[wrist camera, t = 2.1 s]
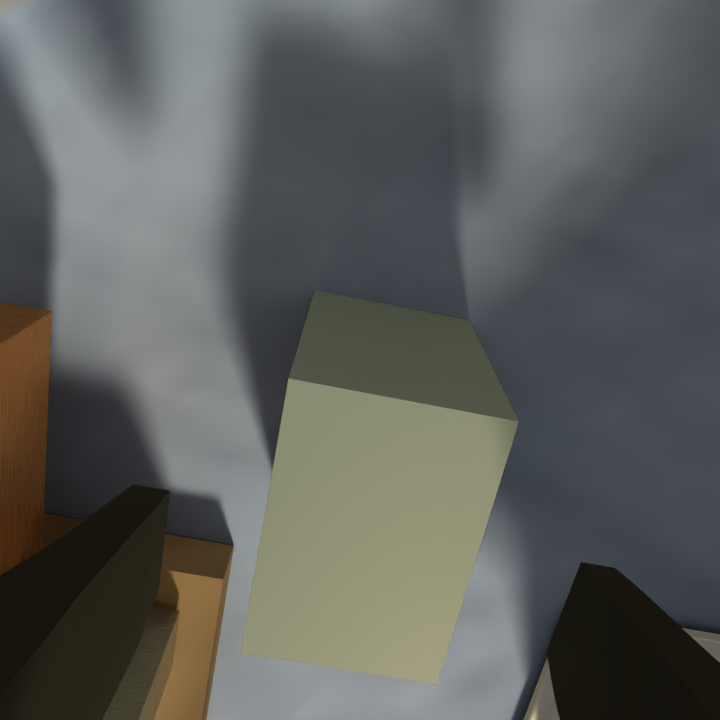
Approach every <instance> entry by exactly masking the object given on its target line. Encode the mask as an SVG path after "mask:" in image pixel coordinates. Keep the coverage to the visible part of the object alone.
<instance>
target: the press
mask: <svg viewBox="0 0 720 720" xmlns="http://www.w3.org/2000/svg"><path fill="white" fill-rule="evenodd" d="M82 521H84V520H81V519H75V518H69V517H64V516H58V515H52V514H46V513H44V527H43V548H44V547H46V546H47V545H49V544H50V543H52V542H53V541H55V540H56V539H58V538H59V537H60V536H62V535H63V534H65V533H66V532H68V531H69V530H71V529H72V528H74V527H75V526H77V525H78V524H79V523H81V522H82ZM233 547H234V546H233V545H227V544H221V543H215V542H209V541H204V540H198V539H192V538H186V537H180V536H174V535H169V534H165V538H164V547H163V556H162V565H161V574H160V583H159V590H158V592H157V595H156V598H155V601H154V604H153V606H156V607H162V608H168V609H174V610H180V612H179V620H178V628H177V636H176V643H175V651H174V659H173V666H172V669H171V672H170V675H169V678H168V681H167V684H166V686H165V689H164V692H163V695H162V698H161V701H160V703H159V706H158V709H157V712H156V715H155V718H154V720H206V718H207V712H208V706H209V699H210V693H211V687H212V680H213V674H214V668H215V661H216V655H217V649H218V642H219V636H220V630H221V623H222V617H223V611H224V604H225V598H226V592H227V585H228V579H229V573H230V566H231V560H232V554H233Z"/></svg>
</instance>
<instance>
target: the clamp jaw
mask: <svg viewBox="0 0 720 720" xmlns="http://www.w3.org/2000/svg"><path fill="white" fill-rule="evenodd" d="M51 316H52V312H50V311H44V310H39V309H34V308H29V307H23V306H18V305H13V304H8V303H2V302H0V575H1V574H3V573H4V572H6V571H8V570H9V569H11V568H13V567H14V566H16V565H18V564H19V563H21V562H22V561H24V560H26V559H27V558H29V557H31V556H32V555H34V554H35V553H37V552H38V551H40V550H41V549H43V527H44V501H45V474H46V448H47V422H48V395H49V369H50V342H51ZM179 612H180V610H174V609H168V608H162V607H156V606H153V607H152V610H151V613H150V615H149V618H148V621H147V624H146V627H145V629H144V632H143V635H142V638H141V640H140V643H139V645H138V647H137V650H136V652H135V654H134V656H133V658H132V660H131V662H130V664H129V666H128V668H127V670H126V672H125V674H124V676H123V678H122V680H121V682H120V685H119V687H118V689H117V691H116V693H115V695H114V697H113V699H112V701H111V703H110V705H109V707H108V709H107V711H106V713H105V715H104V717H103V719H102V720H154V718H155V715H156V712H157V709H158V706H159V703H160V701H161V698H162V695H163V692H164V689H165V686H166V684H167V681H168V678H169V675H170V672H171V669H172V666H173V659H174V651H175V643H176V636H177V628H178V620H179Z"/></svg>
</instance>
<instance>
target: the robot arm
mask: <svg viewBox="0 0 720 720" xmlns="http://www.w3.org/2000/svg"><path fill="white" fill-rule="evenodd" d="M169 494H170V491H168V490H162V489H156V488H150V487H144V486H139V485H132V486H131V487H129V488H128V489H126V490H125V491H123V492H122V493H121V494H119V495H118V496H116V497H115V498H114V499H112V500H111V501H110V502H108V503H107V504H106V505H104V506H103V507H101V508H100V509H99V510H97V511H96V512H95V513H93V514H92V515H90V516H89V517H88V518H86V519H85V520H84V521H82V522H81V523H79V524H78V525H77V526H75V527H74V528H72V529H71V530H69V531H68V532H66V533H65V534H63V535H62V536H60V537H59V538H58V539H56V540H55V541H53V542H52V543H50V544H49V545H47V546H46V547H44V548H43V549H41V550H40V551H38V552H37V553H35V554H34V555H32V556H31V557H29V558H27V559H26V560H24V561H22V562H21V563H19V564H18V565H16V566H14V567H13V568H11V569H9V570H8V571H6V572H4V573H3V574H1V575H0V720H102V719H103V717H104V715H105V713H106V711H107V709H108V707H109V705H110V703H111V701H112V699H113V697H114V695H115V693H116V691H117V689H118V687H119V685H120V682H121V680H122V678H123V676H124V674H125V672H126V670H127V668H128V666H129V664H130V662H131V660H132V658H133V656H134V654H135V652H136V650H137V647H138V645H139V643H140V640H141V638H142V635H143V632H144V629H145V627H146V624H147V621H148V618H149V615H150V613H151V610H152V607H153V604H154V601H155V598H156V595H157V592H158V590H159V583H160V574H161V565H162V556H163V547H164V538H165V530H166V521H167V512H168V503H169ZM523 720H720V634H715V633H709V632H703V631H697V630H691V629H685V628H681V627H680V626H679V625H678V624H677V623H676V622H675V621H674V620H673V619H672V618H671V617H669V616H668V615H667V614H666V613H665V612H664V611H663V610H662V609H661V608H660V607H659V606H658V605H657V604H655V603H654V602H653V601H652V600H651V599H650V598H649V597H648V596H647V595H646V594H645V593H643V592H642V591H641V590H640V589H639V588H638V587H637V586H636V585H635V584H633V583H632V582H631V581H630V580H629V579H628V578H626V577H625V576H624V575H623V574H621V573H620V572H619V571H618V570H616V569H615V568H611V567H606V566H600V565H594V564H588V563H582V562H581V564H580V566H579V569H578V572H577V574H576V577H575V579H574V582H573V585H572V587H571V590H570V593H569V595H568V598H567V600H566V603H565V606H564V608H563V611H562V613H561V616H560V619H559V621H558V624H557V627H556V629H555V632H554V634H553V637H552V640H551V642H550V645H549V647H548V650H547V659H546V662H545V664H544V667H543V670H542V672H541V675H540V678H539V680H538V683H537V685H536V688H535V691H534V693H533V696H532V698H531V701H530V704H529V706H528V709H527V712H526V714H525V717H524V719H523Z"/></svg>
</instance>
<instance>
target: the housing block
mask: <svg viewBox="0 0 720 720" xmlns="http://www.w3.org/2000/svg"><path fill="white" fill-rule="evenodd" d="M518 424H519V420H518V418H517V416H516V414H515V412H514V410H513V408H512V406H511V404H510V402H509V400H508V398H507V396H506V394H505V392H504V390H503V388H502V386H501V384H500V382H499V380H498V378H497V376H496V374H495V372H494V370H493V368H492V366H491V364H490V362H489V360H488V358H487V356H486V354H485V352H484V350H483V347H482V345H481V343H480V341H479V339H478V337H477V335H476V333H475V331H474V329H473V327H472V325H471V323H470V321H469V320H466V319H460V318H455V317H450V316H445V315H440V314H435V313H430V312H425V311H420V310H414V309H409V308H404V307H399V306H394V305H389V304H384V303H379V302H374V301H369V300H363V299H358V298H353V297H348V296H343V295H338V294H333V293H328V292H323V291H318V290H315V291H314V294H313V298H312V301H311V305H310V308H309V311H308V315H307V318H306V321H305V325H304V328H303V331H302V335H301V338H300V341H299V345H298V348H297V352H296V355H295V358H294V362H293V365H292V368H291V372H290V375H289V378H288V384H287V390H286V396H285V401H284V407H283V413H282V419H281V424H280V430H279V436H278V441H277V447H276V453H275V459H274V464H273V470H272V476H271V482H270V487H269V493H268V499H267V505H266V510H265V516H264V522H263V527H262V533H261V539H260V545H259V550H258V556H257V562H256V568H255V573H254V579H253V585H252V591H251V596H250V602H249V608H248V614H247V619H246V625H245V631H244V636H243V642H242V648H241V653H244V654H251V655H257V656H263V657H269V658H275V659H281V660H288V661H294V662H300V663H306V664H312V665H318V666H325V667H331V668H337V669H343V670H349V671H355V672H362V673H368V674H374V675H380V676H386V677H392V678H398V679H405V680H411V681H417V682H423V683H429V684H435V685H437V682H438V679H439V676H440V672H441V669H442V666H443V663H444V660H445V656H446V653H447V650H448V647H449V644H450V641H451V637H452V634H453V631H454V628H455V625H456V621H457V618H458V615H459V612H460V609H461V605H462V602H463V599H464V596H465V593H466V589H467V586H468V583H469V580H470V577H471V574H472V570H473V567H474V564H475V561H476V558H477V554H478V551H479V548H480V545H481V542H482V538H483V535H484V532H485V529H486V526H487V523H488V519H489V516H490V513H491V510H492V507H493V503H494V500H495V497H496V494H497V491H498V487H499V484H500V481H501V478H502V475H503V472H504V468H505V465H506V462H507V459H508V456H509V452H510V449H511V446H512V443H513V440H514V436H515V433H516V430H517V427H518Z"/></svg>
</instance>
